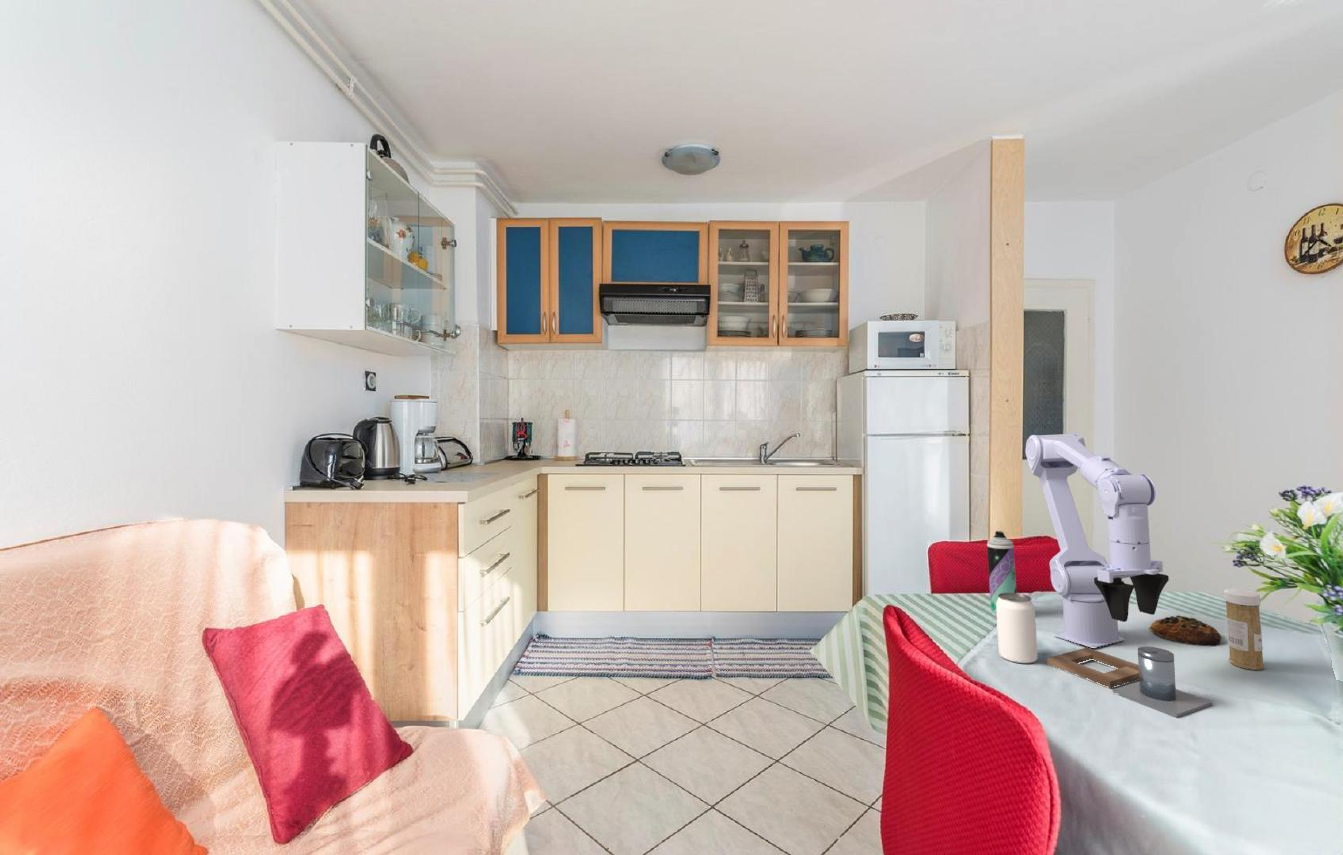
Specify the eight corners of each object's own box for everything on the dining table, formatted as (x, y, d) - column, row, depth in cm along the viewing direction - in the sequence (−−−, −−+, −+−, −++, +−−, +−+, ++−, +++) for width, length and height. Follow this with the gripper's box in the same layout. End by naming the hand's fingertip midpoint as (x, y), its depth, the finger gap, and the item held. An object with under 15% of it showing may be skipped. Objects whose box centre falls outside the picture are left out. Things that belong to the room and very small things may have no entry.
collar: (1087, 653, 108) (1086, 647, 108) (1151, 675, 98) (1151, 669, 98) (1047, 664, 105) (1047, 657, 105) (1110, 688, 94) (1109, 681, 94)
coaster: (1147, 681, 96) (1147, 678, 96) (1212, 704, 87) (1212, 701, 87) (1112, 692, 93) (1112, 689, 93) (1176, 717, 84) (1176, 714, 84)
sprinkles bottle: (1271, 671, 97) (1267, 595, 97) (1240, 670, 98) (1236, 595, 98) (1251, 660, 102) (1246, 588, 102) (1221, 659, 103) (1217, 587, 103)
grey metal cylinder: (1151, 685, 93) (1149, 644, 94) (1183, 697, 89) (1180, 654, 89) (1133, 690, 92) (1130, 648, 92) (1164, 703, 88) (1161, 659, 88)
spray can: (987, 611, 134) (982, 529, 135) (1011, 611, 134) (1006, 529, 134) (997, 619, 129) (992, 534, 129) (1022, 618, 128) (1017, 533, 128)
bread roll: (1207, 650, 107) (1201, 623, 107) (1140, 640, 117) (1135, 615, 117) (1235, 641, 111) (1229, 615, 112) (1168, 631, 121) (1164, 608, 122)
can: (1043, 665, 104) (1040, 601, 104) (1006, 663, 106) (1002, 601, 106) (1029, 651, 111) (1025, 591, 111) (993, 650, 112) (990, 591, 112)
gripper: (1126, 550, 93) (1131, 630, 93) (1180, 539, 98) (1185, 616, 98) (1083, 542, 99) (1087, 617, 99) (1136, 533, 104) (1140, 605, 104)
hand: (1133, 616), depth 99 cm, fingers open, 7 cm apart
